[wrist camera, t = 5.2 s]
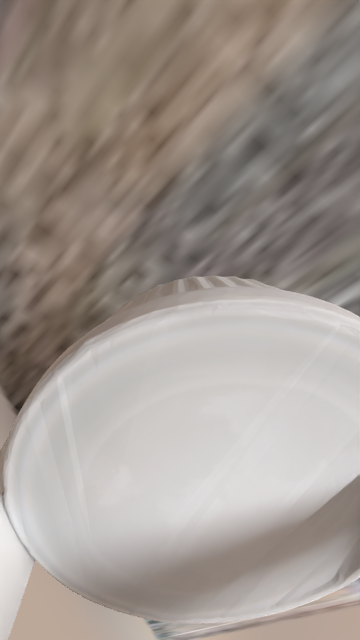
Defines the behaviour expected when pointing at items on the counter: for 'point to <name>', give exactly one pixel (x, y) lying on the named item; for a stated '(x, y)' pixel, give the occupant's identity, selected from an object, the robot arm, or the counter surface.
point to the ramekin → (196, 455)
